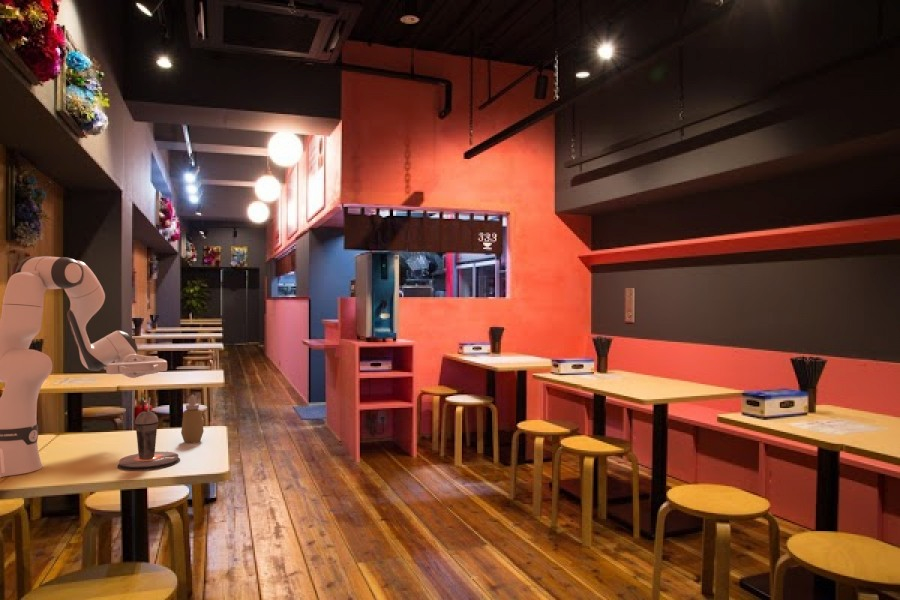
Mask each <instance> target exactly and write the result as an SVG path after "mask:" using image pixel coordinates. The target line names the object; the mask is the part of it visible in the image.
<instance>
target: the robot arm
mask: <svg viewBox="0 0 900 600" xmlns="http://www.w3.org/2000/svg"><path fill="white" fill-rule="evenodd" d="M59 289H63V290H64V292H65V293H66V296H67V298H68V299H69V302H70V307H69V310H68V311H67V313H66V314H67V315H66V317H67V321H68V323H69V326H70V330H71V333H72V336H73V338H74V341H75V344H76V347H77V349H78V354H79V359H80V362H81V364H82V365H83V367H84V368H86V369H87V370H88V371H93V372H100V371H101V370H102V369H103V370H106V374H107V375H123V376H125V377H128V378H131V379H136V378H139V377H143V376H146V375H152V374H153V375H154V374H158V373H159V372H167V370H168V361H167V360H166V359H164V358H159V356H156V355H142V354H138V345H137V344H136V341H135V340H134V339H133V338H132V336H130V334H129V333H127V332H126V331H123V330H115V331H112V333H108V334H107V335H105V336H104V337H102V338H100V339H99V340H97V341H95V342H93V343H91V342H90V339H89V336H88V333H87V324H88V323H89V321H90V320H91V319H92V317H93V316H95V315H96V314H97V313H98V312H99V310H100V309H101V308H102V307H103V305H104V303H105V299H106V293H105V291H104V289H103V286H102V285H101V283H100V280H98V278H97V276H96V274H95V273H94V272H93V270H92V269H91V268H90V267H89V266H88V265H87V264H86V263H85V262H83V261H82V260H76V259H74V258H70V257H66V256H65V257H64V256H63V257H62V256H61V257H59V256H50V255H45V256H31V257H26V258H24V259H22V260H21V261H20V262H19V263H18V265H17V267H16V269H15V273H14V274H12V275H11V276H9V278H8V281H7V284H6V288H5V291H4V294H3V300H2V305H1V307H2V308H1V313H0V383H4V388H3V391H2V394H1V396H0V478H2V477H8V476H9V477H10V476H17V475H22V474H27V473H31V472H35V471H39V470H40V469H42V468H43V463H42V461H41V457H40V453H39V447H38V438H39V425H38V424H37V414H38V413H37V412H38V411H37V410H38V409H37V408H38V399H39V393H40V391H41V389H42V385H43V384H44V382H45V380H47V379H48V377H50V375H51V374H52V371H53V361H52V359H51V357H50V356H49V355H47V354H46V353H45V352H42V351H39V350H37V349H33V348H32V349H30V346H31V344H32V342H33V340H34V339H35V337H36V336H38V335H39V334H40V332H41V330H42V322H43V321H42V320H43V314H44V305H45V304H44V301H45V293H46V291H47V290H59Z"/></svg>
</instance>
